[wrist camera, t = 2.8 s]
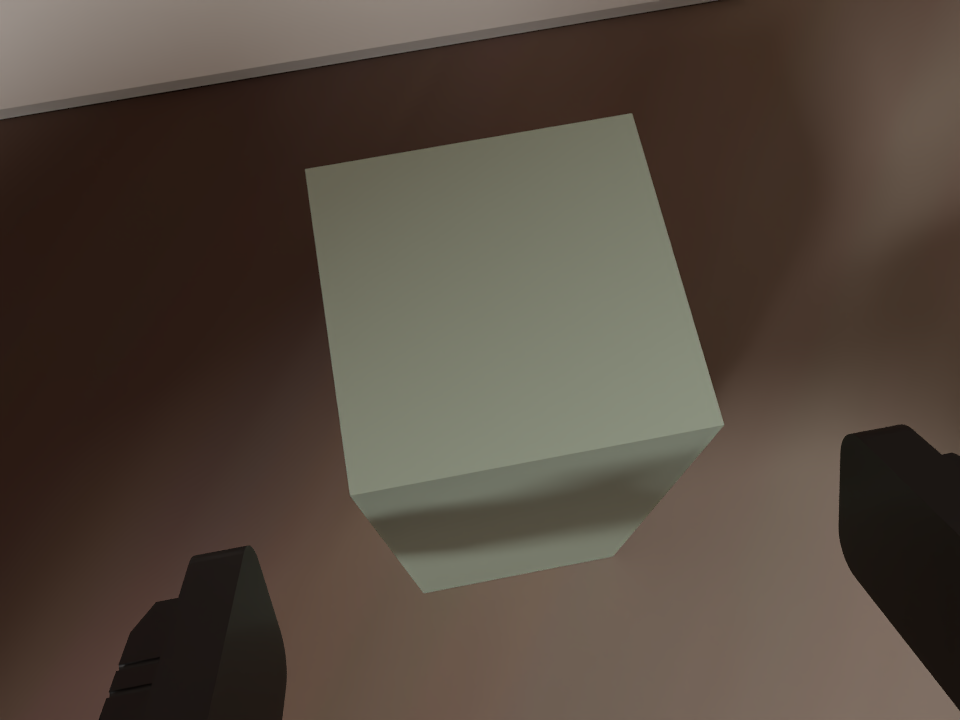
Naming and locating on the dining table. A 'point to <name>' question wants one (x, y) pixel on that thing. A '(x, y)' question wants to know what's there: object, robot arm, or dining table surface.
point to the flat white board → (239, 39)
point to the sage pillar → (508, 348)
